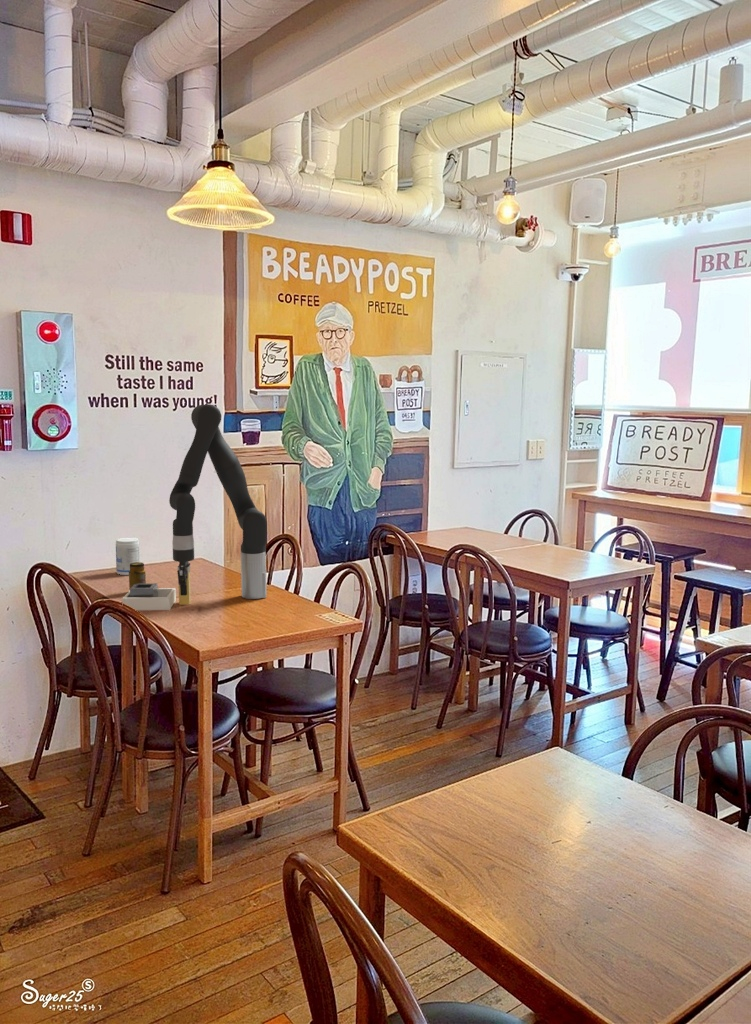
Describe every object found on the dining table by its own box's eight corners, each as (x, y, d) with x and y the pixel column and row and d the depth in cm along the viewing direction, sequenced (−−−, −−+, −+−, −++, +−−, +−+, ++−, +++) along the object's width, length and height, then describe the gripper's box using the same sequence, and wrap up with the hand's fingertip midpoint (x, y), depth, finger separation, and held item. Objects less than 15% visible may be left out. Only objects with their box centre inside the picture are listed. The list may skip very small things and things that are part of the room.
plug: (190, 603, 296) (189, 571, 294) (189, 606, 293) (188, 573, 291) (180, 603, 296) (179, 571, 294) (179, 606, 292) (178, 573, 291)
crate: (176, 601, 299) (175, 588, 298) (169, 611, 285) (168, 597, 284) (131, 601, 298) (131, 588, 297) (123, 612, 284) (122, 598, 283)
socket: (158, 602, 296) (157, 583, 294) (153, 607, 288) (152, 588, 287) (135, 602, 295) (134, 583, 294) (130, 608, 287) (129, 588, 286)
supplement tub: (112, 573, 344) (110, 539, 341) (131, 569, 351) (130, 536, 349) (125, 576, 338) (124, 542, 336) (144, 573, 345) (143, 539, 343)
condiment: (142, 591, 314) (141, 560, 312) (152, 595, 308) (151, 564, 306) (124, 594, 310) (123, 563, 308) (133, 598, 303) (132, 567, 301)
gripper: (190, 550, 285) (192, 598, 287) (196, 543, 298) (198, 588, 301) (169, 550, 284) (170, 598, 287) (176, 543, 298) (177, 589, 300)
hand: (184, 593), depth 294 cm, fingers closed on plug, 3 cm apart
